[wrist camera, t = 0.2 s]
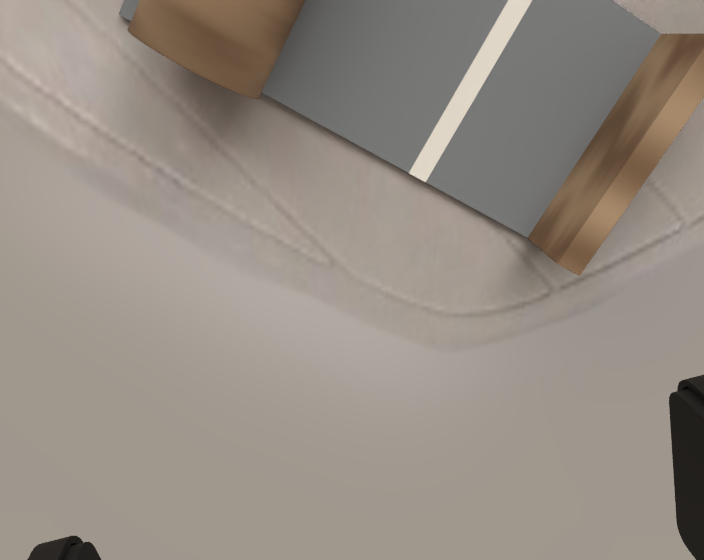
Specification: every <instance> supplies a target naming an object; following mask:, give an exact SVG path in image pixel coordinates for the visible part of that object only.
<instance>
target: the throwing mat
mask: <svg viewBox="0 0 704 560" xmlns="http://www.w3.org/2000/svg"><path fill="white" fill-rule="evenodd" d="M138 3H139V0H124V2H123V5H122V7H121V10H120V12H119V15H120V16H122V17H124V18H126V19H128V20H129V21H131V20H132V17H133V15H134V12H135V10H136V8H137V5H138ZM660 35H661V34H660V33H659V32H658V31H656V30H655V29H653V28H652V27H650V26H649V25H647V24H646V23H644V22H643V21H641V20H640V19H639V18H637V17H636V16H634V15H633V14H631V13H630V12H628V11H627V10H625V9H624V8H623V7H621V6H620V5H618V4H617V3H615V2H614V1H612V0H306V1H305V3H304V5H303V7H302V9H301V11H300V13H299V15H298V17H297V19H296V21H295V23H294V25H293V27H292V29H291V32H290V34H289V36H288V38H287V40H286V42H285V44H284V46H283V48H282V50H281V52H280V54H279V56H278V58H277V60H276V63H275V65H274V67H273V69H272V71H271V73H270V75H269V77H268V79H267V81H266V83H265V85H264V87H263V89H262V91H261V93H263V94H265V95H267V96H269V97H270V98H272V99H274V100H276V101H278V102H280V103H281V104H283V105H285V106H287V107H289V108H291V109H292V110H294V111H296V112H298V113H300V114H302V115H303V116H305V117H307V118H309V119H311V120H312V121H314V122H316V123H318V124H320V125H322V126H323V127H325V128H327V129H329V130H331V131H333V132H334V133H336V134H338V135H340V136H342V137H344V138H345V139H347V140H349V141H351V142H353V143H355V144H356V145H358V146H360V147H362V148H364V149H366V150H367V151H369V152H371V153H373V154H375V155H377V156H378V157H380V158H382V159H384V160H386V161H388V162H389V163H391V164H393V165H395V166H397V167H399V168H400V169H402V170H404V171H406V172H408V173H409V174H411V175H413V176H415V177H417V178H418V179H420V180H422V181H424V182H426V183H428V184H430V185H431V186H433V187H435V188H437V189H439V190H441V191H442V192H444V193H446V194H448V195H450V196H452V197H453V198H455V199H457V200H459V201H461V202H463V203H464V204H466V205H468V206H470V207H472V208H474V209H475V210H477V211H479V212H481V213H483V214H485V215H486V216H488V217H490V218H492V219H494V220H496V221H497V222H499V223H501V224H503V225H505V226H507V227H508V228H510V229H512V230H514V231H516V232H518V233H519V234H521V235H523V236H525V237H527V238H528V236H529V235H530V233H531V232H532V230H533V229H534V227H535V226H536V224H537V223H538V221H539V220H540V218H541V217H542V215H543V214H544V212H545V210H546V209H547V207H548V206H549V204H550V203H551V201H552V200H553V198H554V197H555V195H556V194H557V192H558V191H559V189H560V188H561V186H562V185H563V183H564V181H565V180H566V178H567V177H568V175H569V174H570V172H571V171H572V169H573V168H574V166H575V165H576V163H577V162H578V160H579V159H580V157H581V156H582V154H583V152H584V151H585V149H586V148H587V146H588V145H589V143H590V142H591V140H592V139H593V137H594V136H595V134H596V133H597V131H598V130H599V128H600V127H601V125H602V123H603V122H604V120H605V119H606V117H607V116H608V114H609V113H610V111H611V110H612V108H613V107H614V105H615V104H616V102H617V101H618V99H619V98H620V96H621V94H622V93H623V91H624V90H625V88H626V87H627V85H628V84H629V82H630V81H631V79H632V78H633V76H634V75H635V73H636V72H637V70H638V69H639V67H640V65H641V64H642V62H643V61H644V59H645V58H646V56H647V55H648V53H649V52H650V50H651V49H652V47H653V46H654V44H655V43H656V41H657V40H658V38H659V36H660Z"/></svg>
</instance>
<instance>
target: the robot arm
mask: <svg viewBox="0 0 704 560" xmlns="http://www.w3.org/2000/svg"><path fill="white" fill-rule="evenodd" d="M669 407H670V421H671V422H670V423H671V438H672V454H673V469H674V486H675V502H676V518H677V526H678V530H679V533H680V535H681V538H682V540H683V542H684V544H685V545H686V547H687V548H688V550H689V551H690V552H691V553H692V555H693V556H694V557H695V559H696V560H704V375H701V376H697V377H693V378H689V379H685V380H682V381H681V382H679V385H678V391H677V392H674V393H671V394H670V397H669ZM28 560H101V559H100V557H99V555H98V553H97V551H96V549H95V547H94V546H93V544H92V543H90V542H84V543H83V541H82V540H81V539H80V538H79V537H77V536H69V537H65V538H62V539H58V540H54V541H50V542H46V543H42V544H39V545H37V546H36V547H35V548H34V549H33V551H32V552H31V554H30V556H29V558H28Z"/></svg>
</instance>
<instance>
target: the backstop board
mask: <svg viewBox="0 0 704 560" xmlns="http://www.w3.org/2000/svg"><path fill="white" fill-rule="evenodd" d="M703 97H704V34H661V35H660V36H659V38H658V40H657V41H656V43H655V44H654V46H653V47H652V49H651V50H650V52H649V53H648V55H647V56H646V58H645V59H644V61H643V62H642V64H641V65H640V67H639V69H638V70H637V72H636V73H635V75H634V76H633V78H632V79H631V81H630V82H629V84H628V85H627V87H626V88H625V90H624V91H623V93H622V94H621V96H620V98H619V99H618V101H617V102H616V104H615V105H614V107H613V108H612V110H611V111H610V113H609V114H608V116H607V117H606V119H605V120H604V122H603V123H602V125H601V127H600V128H599V130H598V131H597V133H596V134H595V136H594V137H593V139H592V140H591V142H590V143H589V145H588V146H587V148H586V149H585V151H584V152H583V154H582V156H581V157H580V159H579V160H578V162H577V163H576V165H575V166H574V168H573V169H572V171H571V172H570V174H569V175H568V177H567V178H566V180H565V181H564V183H563V185H562V186H561V188H560V189H559V191H558V192H557V194H556V195H555V197H554V198H553V200H552V201H551V203H550V204H549V206H548V207H547V209H546V210H545V212H544V214H543V215H542V217H541V218H540V220H539V221H538V223H537V224H536V226H535V227H534V229H533V230H532V232H531V233H530V235H529V236H528V239H529V240H530V241H532V242H533V243H534V244H535V245H536V246H537V247H539V248H540V249H541V250H542V251H543V252H544V253H545V254H547V255H548V256H549V257H550V258H551V259H552V260H554V261H555V262H556V263H557V264H559V265H560V266H562V267H564V268H566V269H568V270H570V271H571V272H573V273H575V274H577V275H579V276H580V274H581V273H582V271H583V270H584V268H585V267H586V266H587V264H588V263H589V261H590V260H591V258H592V257H593V255H594V254H595V253H596V251H597V250H598V248H599V247H600V245H601V244H602V243H603V241H604V240H605V238H606V237H607V235H608V234H609V232H610V231H611V230H612V228H613V227H614V225H615V224H616V222H617V221H618V219H619V218H620V217H621V215H622V214H623V212H624V211H625V209H626V208H627V207H628V205H629V204H630V202H631V201H632V199H633V198H634V196H635V195H636V194H637V192H638V191H639V189H640V188H641V186H642V185H643V183H644V182H645V181H646V179H647V178H648V176H649V175H650V173H651V172H652V171H653V169H654V168H655V166H656V165H657V163H658V162H659V160H660V159H661V158H662V156H663V155H664V153H665V152H666V150H667V149H668V148H669V146H670V145H671V143H672V142H673V140H674V139H675V137H676V136H677V135H678V133H679V132H680V130H681V129H682V127H683V126H684V124H685V123H686V122H687V120H688V119H689V117H690V116H691V114H692V113H693V112H694V110H695V109H696V107H697V106H698V104H699V103H700V101H701V100H702V99H703Z"/></svg>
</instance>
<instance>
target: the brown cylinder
mask: <svg viewBox="0 0 704 560" xmlns="http://www.w3.org/2000/svg"><path fill="white" fill-rule="evenodd" d="M305 1H306V0H139V3H138V5H137V8H136V10H135V12H134V15H133V17H132V20H131V22H130V25H129V27H128V31H129V32H130V33H131V34H132V35H133V36H134V37H136V38H137V39H138V40H140V41H141V42H143V43H144V44H146V45H147V46H149V47H150V48H152V49H153V50H155V51H157V52H158V53H160V54H162V55H163V56H165V57H167V58H169V59H170V60H172V61H174V62H176V63H177V64H179V65H181V66H183V67H185V68H187V69H188V70H190V71H192V72H194V73H196V74H198V75H200V76H202V77H204V78H206V79H208V80H210V81H212V82H214V83H216V84H218V85H220V86H223V87H225V88H227V89H229V90H232V91H234V92H236V93H239V94H241V95H244V96H247V97H250V98H254V99H258V98H259V96H260V94H261V91H262V89H263V87H264V85H265V83H266V81H267V79H268V77H269V75H270V73H271V71H272V69H273V67H274V65H275V63H276V60H277V58H278V56H279V54H280V52H281V50H282V48H283V46H284V44H285V42H286V40H287V38H288V36H289V34H290V32H291V29H292V27H293V25H294V23H295V21H296V19H297V17H298V15H299V13H300V11H301V9H302V7H303V5H304V3H305Z"/></svg>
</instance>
